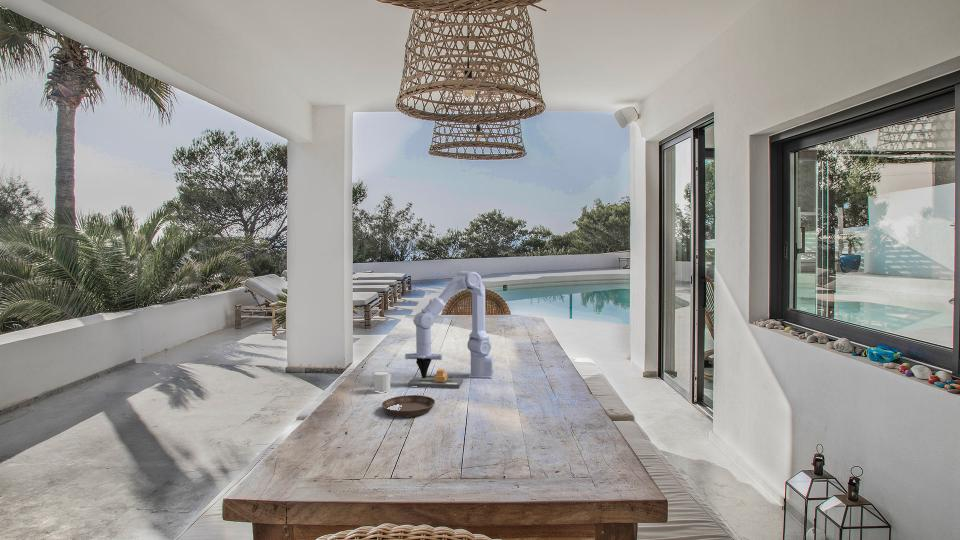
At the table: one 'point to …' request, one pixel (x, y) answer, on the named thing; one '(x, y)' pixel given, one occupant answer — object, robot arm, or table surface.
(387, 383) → the shot glass
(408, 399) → the plant saucer
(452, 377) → the cord bundle
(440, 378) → the breaker toggle
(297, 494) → the table surface
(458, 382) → the breaker panel
